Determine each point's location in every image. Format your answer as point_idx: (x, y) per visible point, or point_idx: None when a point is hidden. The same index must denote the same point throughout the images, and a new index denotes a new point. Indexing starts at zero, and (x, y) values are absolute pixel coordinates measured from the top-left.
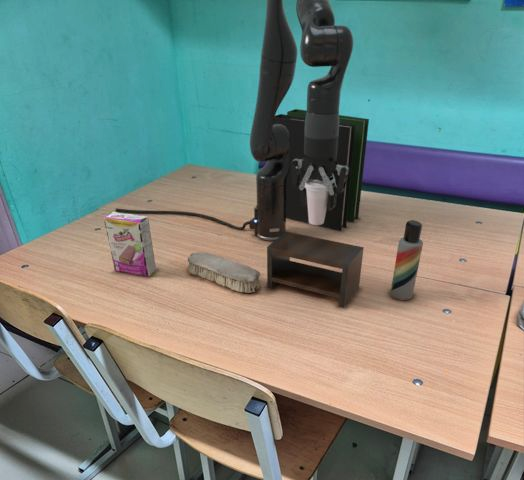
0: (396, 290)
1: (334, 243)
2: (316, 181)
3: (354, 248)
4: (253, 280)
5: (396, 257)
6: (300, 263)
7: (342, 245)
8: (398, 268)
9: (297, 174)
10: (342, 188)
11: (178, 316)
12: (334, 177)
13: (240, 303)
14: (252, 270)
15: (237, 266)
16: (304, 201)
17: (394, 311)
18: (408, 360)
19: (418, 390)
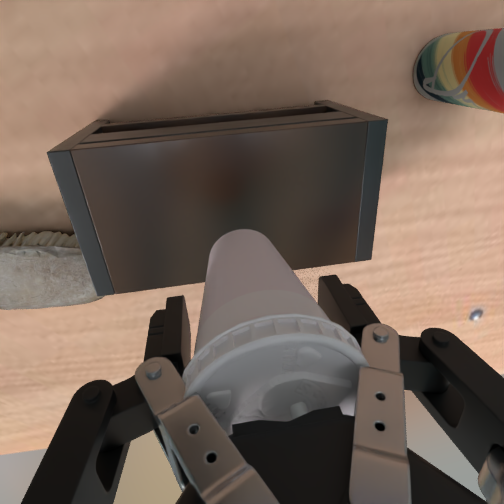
0: (440, 101)
1: (279, 149)
2: (260, 413)
3: (359, 148)
4: None
5: (492, 93)
6: (143, 126)
7: (313, 150)
8: (482, 107)
9: (103, 496)
10: (457, 395)
11: (66, 393)
12: (403, 388)
13: (124, 308)
14: (76, 266)
15: (25, 275)
16: (190, 342)
17: (429, 156)
18: (463, 282)
19: (477, 326)
